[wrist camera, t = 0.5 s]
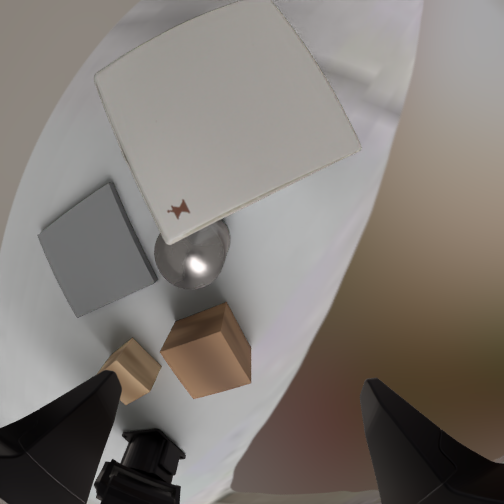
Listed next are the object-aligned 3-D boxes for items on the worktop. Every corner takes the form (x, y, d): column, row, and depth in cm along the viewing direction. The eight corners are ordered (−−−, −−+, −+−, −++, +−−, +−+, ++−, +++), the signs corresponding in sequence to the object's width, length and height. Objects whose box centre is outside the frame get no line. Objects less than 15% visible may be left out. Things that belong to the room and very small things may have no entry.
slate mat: (81, 314, 23) (77, 318, 22) (42, 233, 21) (37, 235, 20) (157, 279, 22) (154, 283, 21) (113, 182, 20) (108, 182, 19)
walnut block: (202, 363, 24) (193, 398, 19) (175, 321, 23) (159, 351, 18) (251, 347, 24) (251, 383, 19) (226, 301, 23) (220, 331, 18)
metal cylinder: (190, 275, 22) (174, 299, 17) (166, 225, 21) (142, 237, 16) (239, 253, 22) (236, 273, 17) (215, 202, 21) (205, 206, 16)
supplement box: (301, 173, 20) (371, 157, 8) (213, 214, 21) (160, 254, 8) (259, 90, 19) (269, -12, 6) (173, 131, 19) (85, 75, 7)
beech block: (138, 380, 25) (125, 405, 21) (111, 354, 24) (94, 376, 20) (161, 365, 24) (150, 391, 20) (132, 337, 23) (116, 360, 20)
